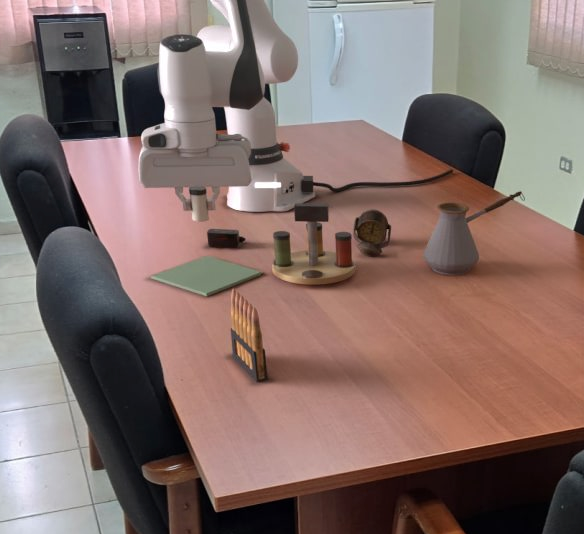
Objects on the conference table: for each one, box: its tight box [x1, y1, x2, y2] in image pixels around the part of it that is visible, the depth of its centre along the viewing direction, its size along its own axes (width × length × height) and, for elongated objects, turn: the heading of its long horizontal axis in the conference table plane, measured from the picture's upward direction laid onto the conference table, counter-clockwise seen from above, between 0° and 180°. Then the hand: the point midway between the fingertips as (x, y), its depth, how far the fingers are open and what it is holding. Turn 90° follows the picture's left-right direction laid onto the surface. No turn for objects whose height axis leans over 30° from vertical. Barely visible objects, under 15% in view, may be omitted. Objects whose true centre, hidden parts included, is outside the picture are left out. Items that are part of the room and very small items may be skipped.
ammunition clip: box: [230, 288, 269, 383], centre depth 150 cm, size 11×2×12 cm, turn 32°
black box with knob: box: [206, 228, 246, 249], centre depth 201 cm, size 5×7×3 cm, turn 89°
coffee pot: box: [422, 190, 526, 276], centre depth 193 cm, size 21×12×15 cm, turn 112°
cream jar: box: [188, 187, 210, 223], centre depth 179 cm, size 3×3×6 cm
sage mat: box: [150, 255, 263, 297], centre depth 186 cm, size 15×15×1 cm
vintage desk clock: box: [352, 209, 392, 257], centre depth 203 cm, size 7×13×10 cm
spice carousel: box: [271, 203, 356, 285], centre depth 186 cm, size 16×16×13 cm
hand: (199, 209), depth 179 cm, fingers closed on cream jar, 3 cm apart
